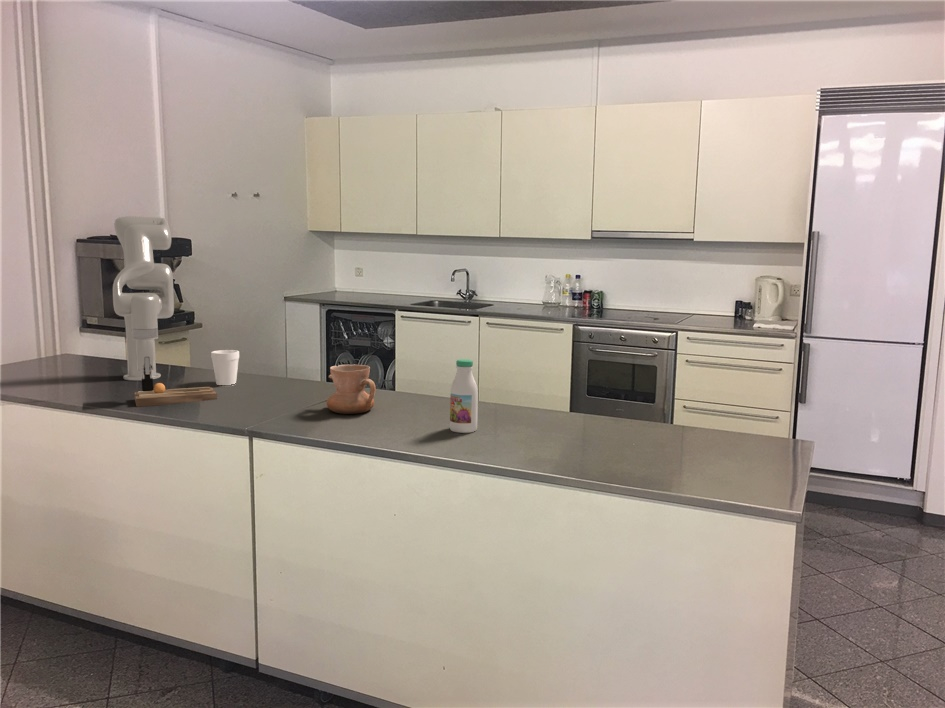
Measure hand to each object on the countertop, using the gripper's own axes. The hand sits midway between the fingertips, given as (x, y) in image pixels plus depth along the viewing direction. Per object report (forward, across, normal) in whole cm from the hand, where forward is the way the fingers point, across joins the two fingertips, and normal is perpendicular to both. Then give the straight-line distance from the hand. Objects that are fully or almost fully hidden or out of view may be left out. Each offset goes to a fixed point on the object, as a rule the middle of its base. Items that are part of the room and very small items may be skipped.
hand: (147, 390), depth 233 cm
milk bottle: (+4, +72, +78) cm, 106 cm away
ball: (0, 0, +3) cm, 3 cm away
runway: (+4, 0, +8) cm, 9 cm away
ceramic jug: (+4, +39, +56) cm, 68 cm away
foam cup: (+4, -17, +26) cm, 32 cm away
